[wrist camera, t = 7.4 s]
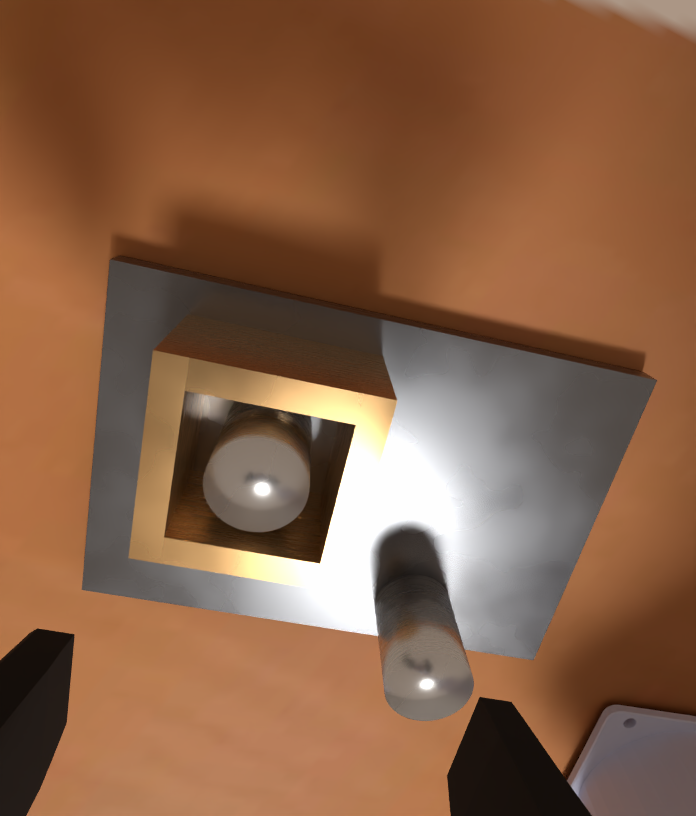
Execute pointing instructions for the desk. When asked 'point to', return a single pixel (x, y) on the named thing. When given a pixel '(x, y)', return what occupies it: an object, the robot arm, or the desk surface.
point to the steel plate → (384, 461)
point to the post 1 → (259, 468)
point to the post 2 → (421, 649)
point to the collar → (275, 388)
